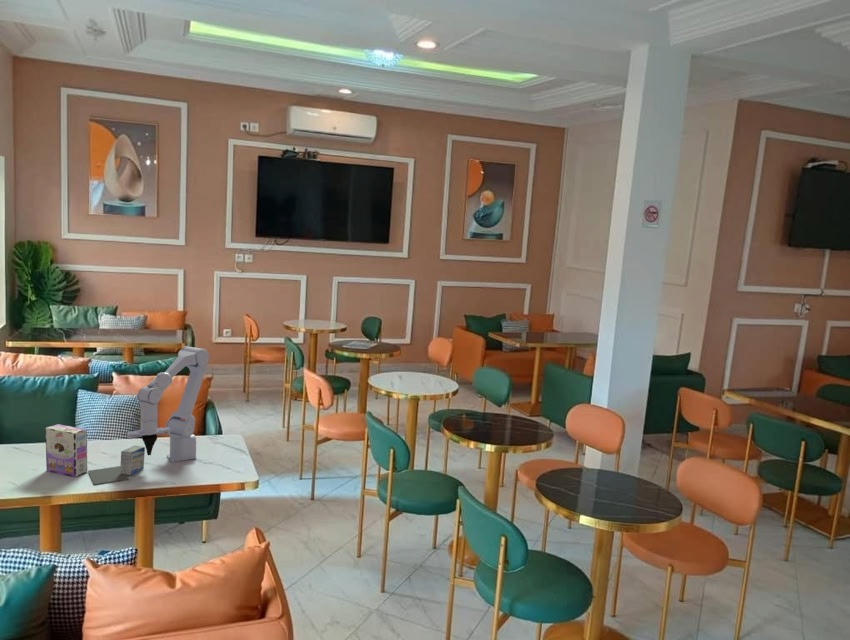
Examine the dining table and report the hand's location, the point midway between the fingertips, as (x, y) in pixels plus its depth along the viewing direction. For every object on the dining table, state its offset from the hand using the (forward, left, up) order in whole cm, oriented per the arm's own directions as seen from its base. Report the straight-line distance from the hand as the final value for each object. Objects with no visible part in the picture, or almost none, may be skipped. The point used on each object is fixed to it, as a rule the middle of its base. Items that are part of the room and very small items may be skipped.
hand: (148, 454), depth 243 cm
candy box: (+26, -10, -6) cm, 28 cm away
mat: (+14, 0, -6) cm, 15 cm away
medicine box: (+6, 0, -6) cm, 8 cm away
